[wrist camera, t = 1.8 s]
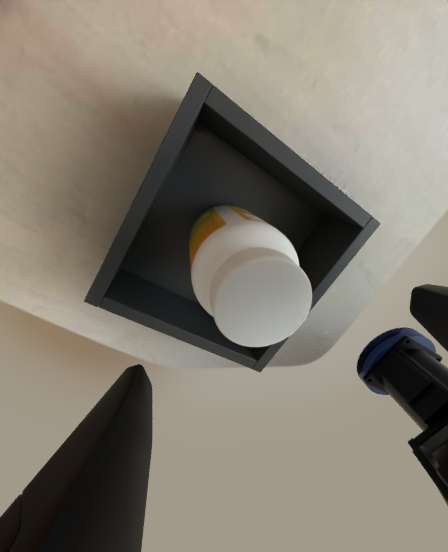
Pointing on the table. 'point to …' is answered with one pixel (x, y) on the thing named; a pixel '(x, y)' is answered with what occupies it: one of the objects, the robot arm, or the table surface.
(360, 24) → the table surface
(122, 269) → the bin
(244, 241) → the supplement bottle
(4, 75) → the table surface
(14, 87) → the table surface
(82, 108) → the table surface
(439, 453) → the robot arm
